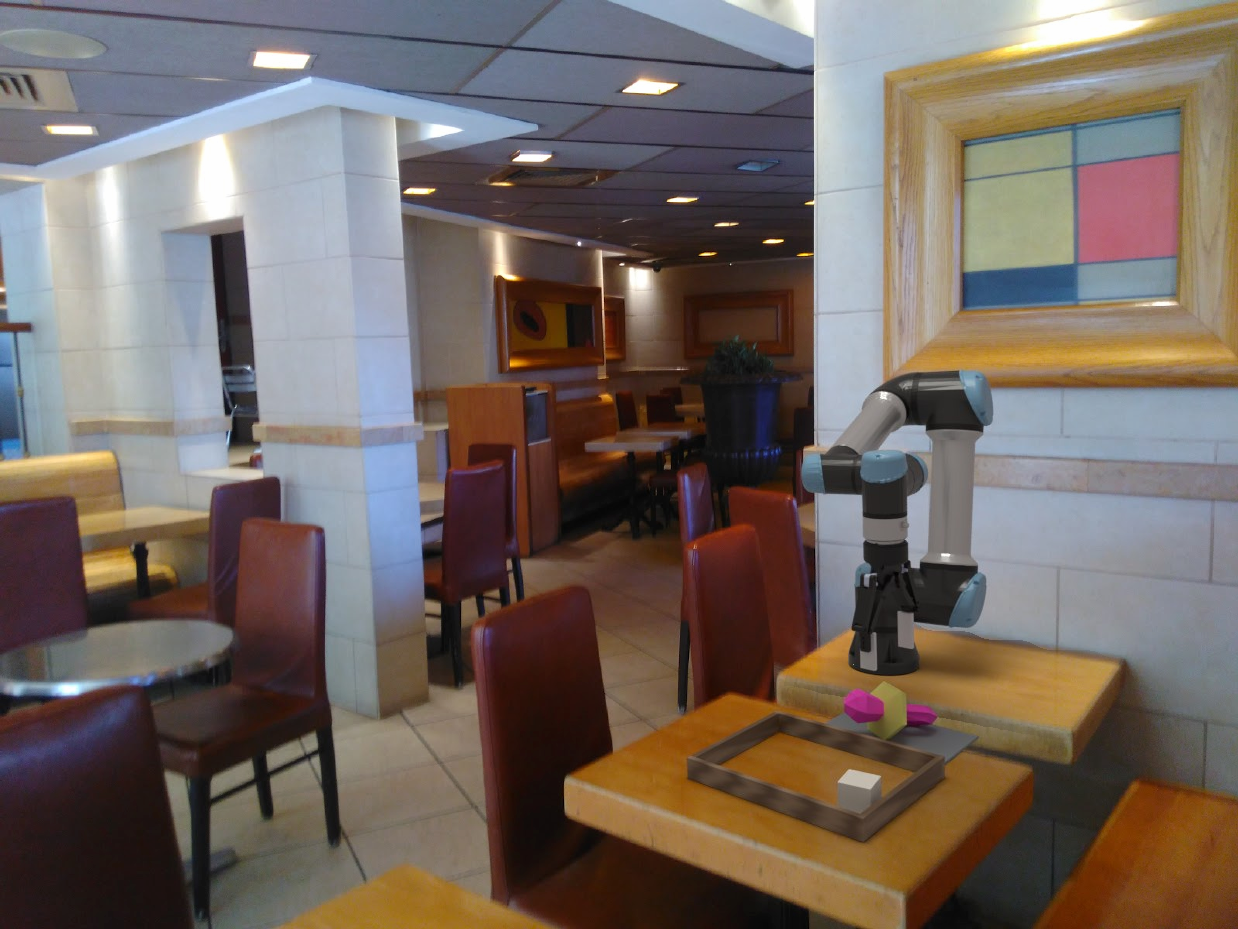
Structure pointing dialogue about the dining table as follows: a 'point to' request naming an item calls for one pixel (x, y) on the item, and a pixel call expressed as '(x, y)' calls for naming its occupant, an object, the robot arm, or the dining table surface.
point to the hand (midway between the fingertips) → (888, 658)
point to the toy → (886, 710)
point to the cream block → (858, 790)
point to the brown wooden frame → (807, 808)
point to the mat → (917, 736)
